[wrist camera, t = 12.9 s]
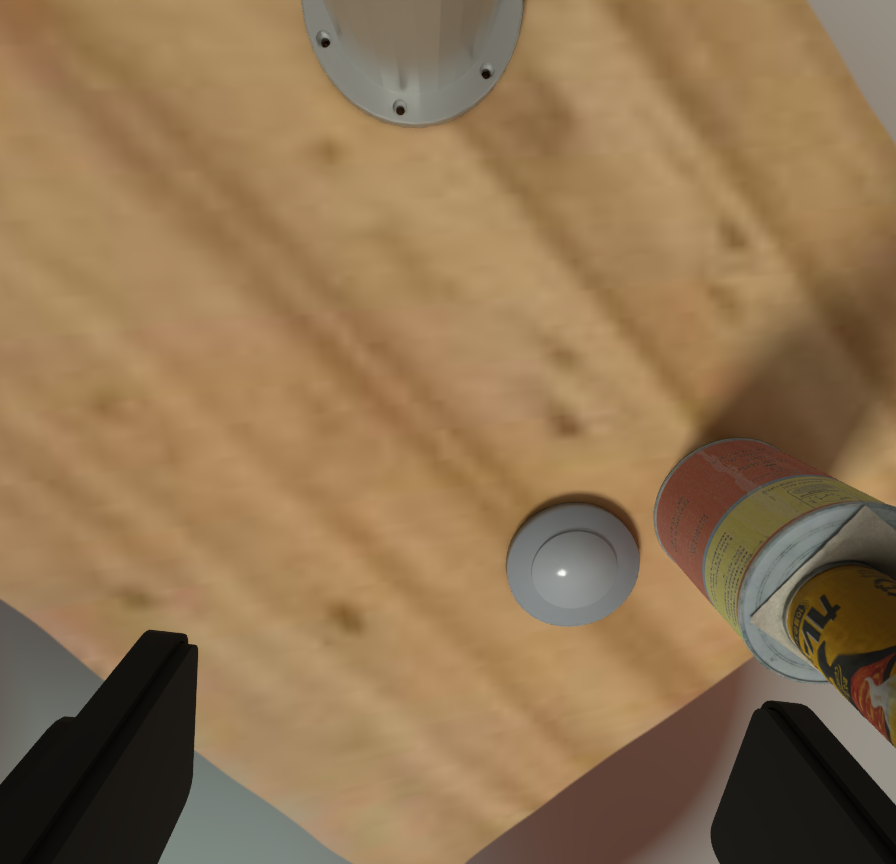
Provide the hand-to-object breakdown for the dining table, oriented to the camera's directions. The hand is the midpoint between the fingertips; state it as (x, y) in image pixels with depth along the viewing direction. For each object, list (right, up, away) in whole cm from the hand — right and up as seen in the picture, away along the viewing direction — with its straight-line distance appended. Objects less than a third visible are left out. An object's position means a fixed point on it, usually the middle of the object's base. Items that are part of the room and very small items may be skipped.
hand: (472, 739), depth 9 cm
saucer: (+9, -5, +33) cm, 35 cm away
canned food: (+21, -1, +33) cm, 39 cm away
